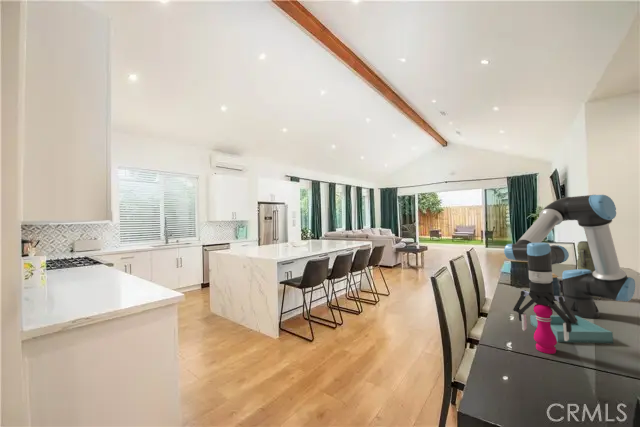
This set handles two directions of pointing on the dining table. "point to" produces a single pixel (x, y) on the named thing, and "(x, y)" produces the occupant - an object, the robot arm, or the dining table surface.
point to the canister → (556, 285)
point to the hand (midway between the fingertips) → (544, 334)
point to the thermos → (585, 258)
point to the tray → (578, 330)
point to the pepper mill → (544, 330)
